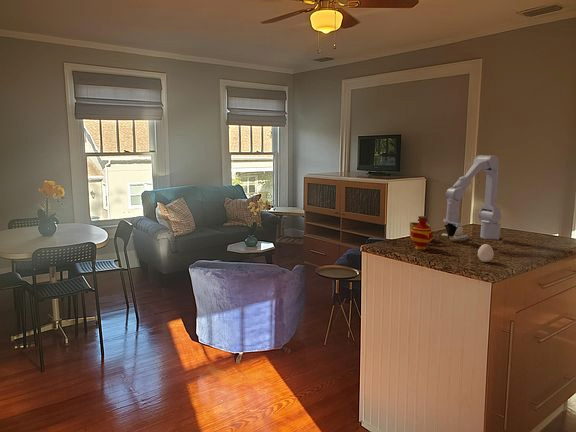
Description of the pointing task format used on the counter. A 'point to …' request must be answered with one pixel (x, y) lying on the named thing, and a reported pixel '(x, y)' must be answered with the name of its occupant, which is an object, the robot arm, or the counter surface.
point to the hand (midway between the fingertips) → (450, 239)
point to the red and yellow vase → (421, 233)
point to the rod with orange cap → (457, 237)
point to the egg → (485, 253)
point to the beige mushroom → (459, 232)
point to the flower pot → (413, 224)
